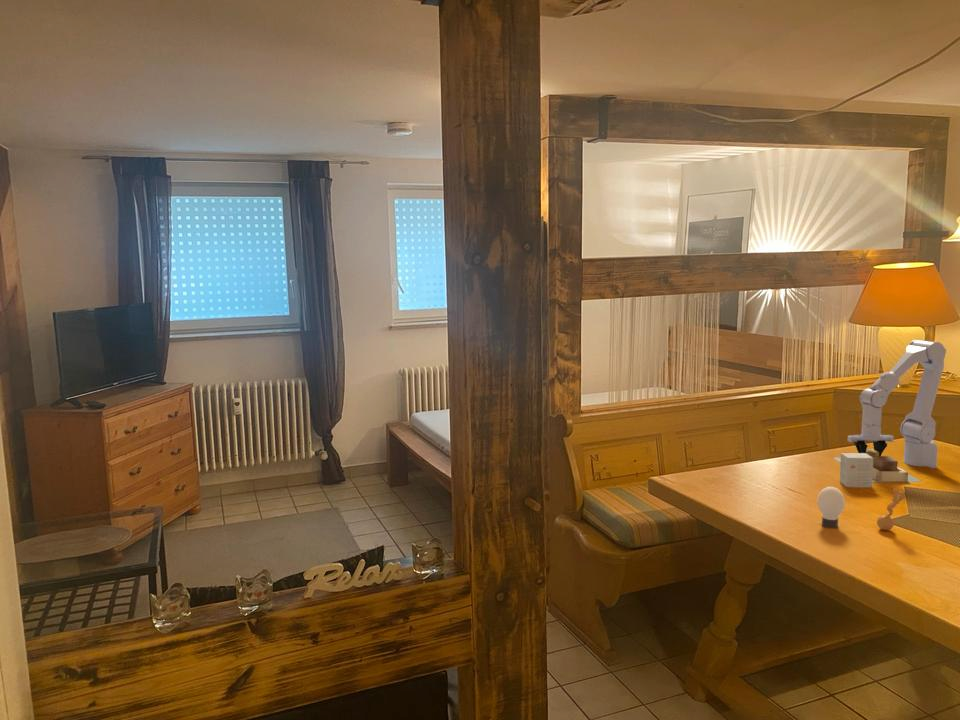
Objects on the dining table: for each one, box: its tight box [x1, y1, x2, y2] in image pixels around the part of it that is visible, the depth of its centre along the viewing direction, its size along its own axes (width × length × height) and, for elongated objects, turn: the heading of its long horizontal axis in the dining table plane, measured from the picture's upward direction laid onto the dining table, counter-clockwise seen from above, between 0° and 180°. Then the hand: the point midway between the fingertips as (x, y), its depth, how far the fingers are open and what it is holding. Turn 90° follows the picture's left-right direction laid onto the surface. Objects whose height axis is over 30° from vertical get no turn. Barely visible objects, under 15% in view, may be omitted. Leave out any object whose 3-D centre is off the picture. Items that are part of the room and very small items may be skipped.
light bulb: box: [817, 486, 846, 528], centre depth 195 cm, size 7×7×11 cm
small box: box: [839, 452, 873, 488], centre depth 226 cm, size 8×6×10 cm
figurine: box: [876, 488, 905, 531], centre depth 190 cm, size 8×6×12 cm
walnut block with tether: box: [866, 448, 899, 471], centre depth 238 cm, size 5×15×6 cm, turn 177°
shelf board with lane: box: [833, 457, 922, 483], centre depth 242 cm, size 16×28×4 cm, turn 177°
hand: (869, 461), depth 244 cm, fingers closed on walnut block with tether, 4 cm apart
